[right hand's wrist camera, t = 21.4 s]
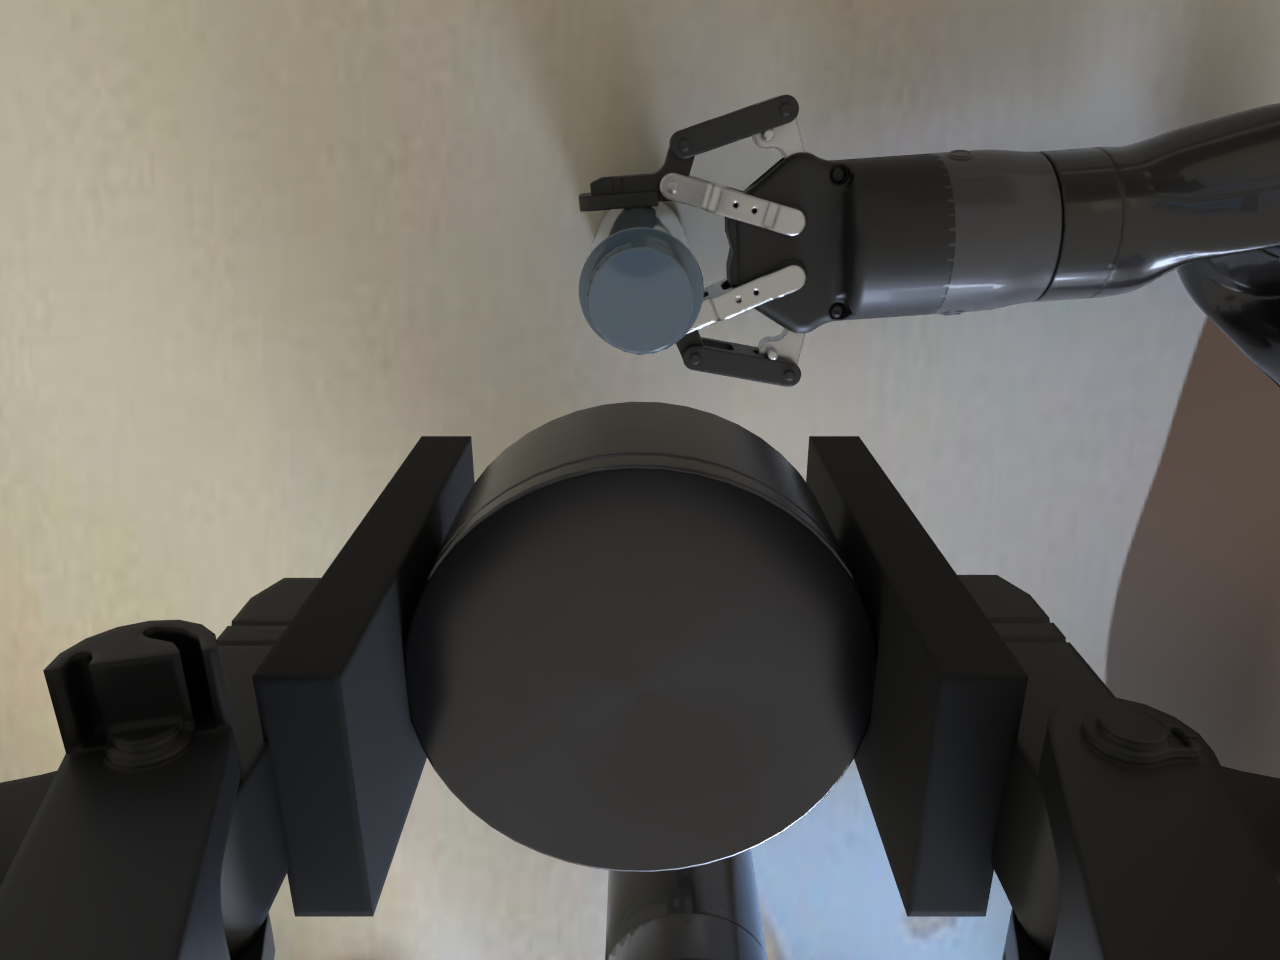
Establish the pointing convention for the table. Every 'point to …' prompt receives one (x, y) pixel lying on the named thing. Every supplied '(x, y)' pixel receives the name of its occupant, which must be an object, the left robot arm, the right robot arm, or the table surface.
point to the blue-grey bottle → (641, 280)
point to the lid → (640, 642)
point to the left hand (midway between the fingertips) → (587, 259)
